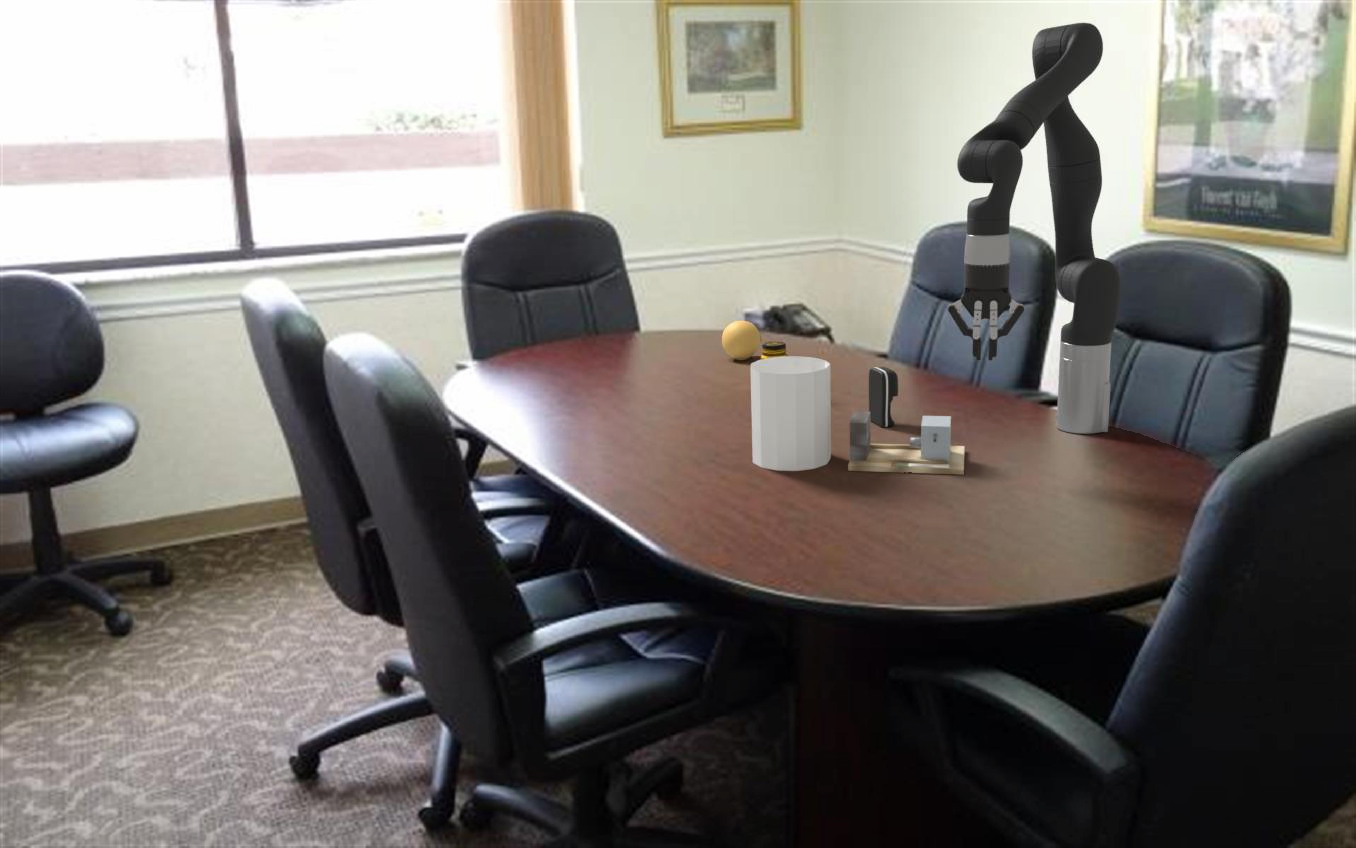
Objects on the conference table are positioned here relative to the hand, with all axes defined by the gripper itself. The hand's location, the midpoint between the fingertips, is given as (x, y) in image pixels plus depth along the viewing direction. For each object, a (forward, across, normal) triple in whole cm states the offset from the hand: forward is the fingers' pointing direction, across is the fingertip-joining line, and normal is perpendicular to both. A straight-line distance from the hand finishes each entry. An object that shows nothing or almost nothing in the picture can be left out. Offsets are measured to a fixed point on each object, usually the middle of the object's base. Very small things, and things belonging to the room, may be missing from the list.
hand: (984, 359), depth 208 cm
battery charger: (+19, +19, -25) cm, 37 cm away
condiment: (+19, +45, -47) cm, 68 cm away
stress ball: (+19, +59, -83) cm, 104 cm away
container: (+19, +34, +1) cm, 39 cm away
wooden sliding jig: (+19, +13, 0) cm, 23 cm away
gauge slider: (+18, +9, +2) cm, 20 cm away
